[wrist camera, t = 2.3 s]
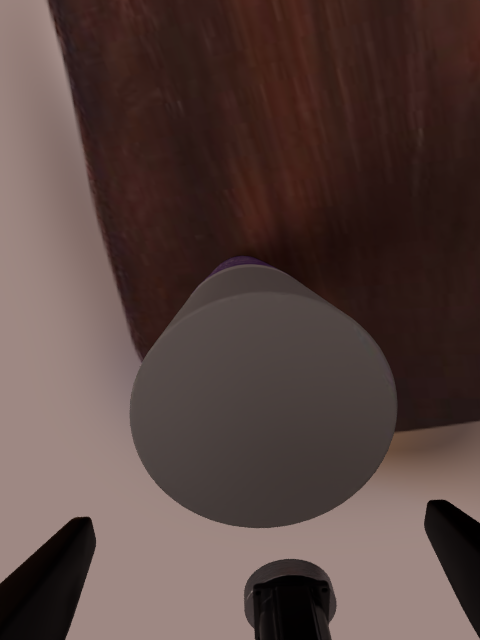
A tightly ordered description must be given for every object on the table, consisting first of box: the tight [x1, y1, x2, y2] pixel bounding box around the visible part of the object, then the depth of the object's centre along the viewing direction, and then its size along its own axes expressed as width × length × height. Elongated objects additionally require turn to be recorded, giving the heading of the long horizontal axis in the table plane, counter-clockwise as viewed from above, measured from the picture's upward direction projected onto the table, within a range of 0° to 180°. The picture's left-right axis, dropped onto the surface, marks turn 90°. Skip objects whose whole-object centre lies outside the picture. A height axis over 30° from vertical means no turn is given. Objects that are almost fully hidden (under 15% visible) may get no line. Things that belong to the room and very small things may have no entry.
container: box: [130, 256, 397, 528], centre depth 12 cm, size 5×5×15 cm
